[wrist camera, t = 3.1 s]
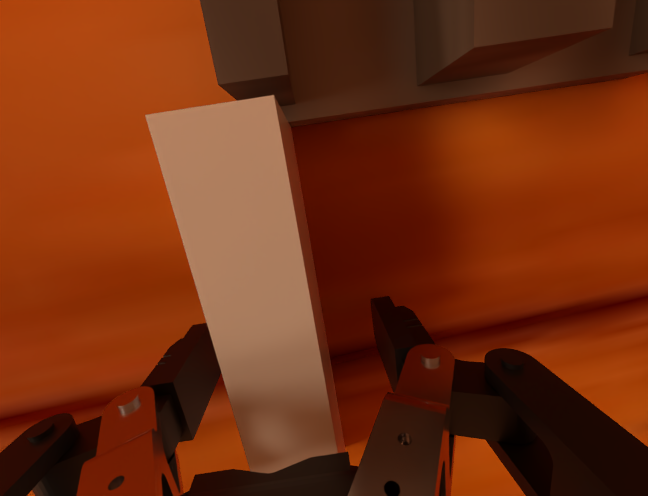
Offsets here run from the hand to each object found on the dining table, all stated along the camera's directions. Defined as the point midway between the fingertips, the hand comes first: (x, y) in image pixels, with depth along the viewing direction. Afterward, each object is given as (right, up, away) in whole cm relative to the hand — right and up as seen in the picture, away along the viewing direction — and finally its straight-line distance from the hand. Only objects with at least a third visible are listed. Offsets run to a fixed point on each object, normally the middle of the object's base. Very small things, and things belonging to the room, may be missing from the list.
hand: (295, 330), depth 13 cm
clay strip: (0, 0, +1) cm, 1 cm away
